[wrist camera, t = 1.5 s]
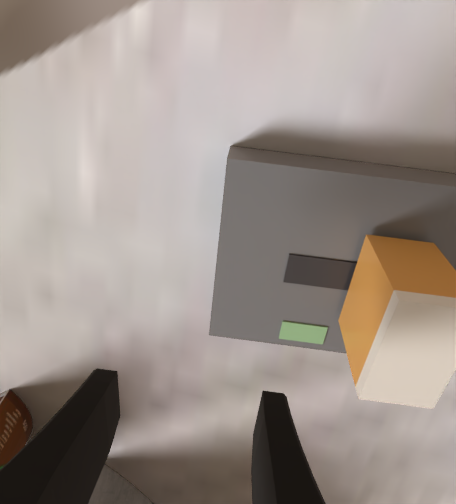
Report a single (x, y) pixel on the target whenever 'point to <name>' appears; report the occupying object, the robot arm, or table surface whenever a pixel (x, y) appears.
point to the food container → (13, 426)
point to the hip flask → (115, 490)
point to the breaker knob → (400, 322)
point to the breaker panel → (313, 239)
